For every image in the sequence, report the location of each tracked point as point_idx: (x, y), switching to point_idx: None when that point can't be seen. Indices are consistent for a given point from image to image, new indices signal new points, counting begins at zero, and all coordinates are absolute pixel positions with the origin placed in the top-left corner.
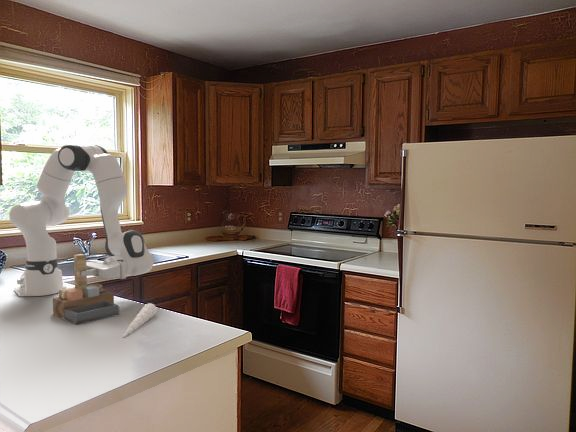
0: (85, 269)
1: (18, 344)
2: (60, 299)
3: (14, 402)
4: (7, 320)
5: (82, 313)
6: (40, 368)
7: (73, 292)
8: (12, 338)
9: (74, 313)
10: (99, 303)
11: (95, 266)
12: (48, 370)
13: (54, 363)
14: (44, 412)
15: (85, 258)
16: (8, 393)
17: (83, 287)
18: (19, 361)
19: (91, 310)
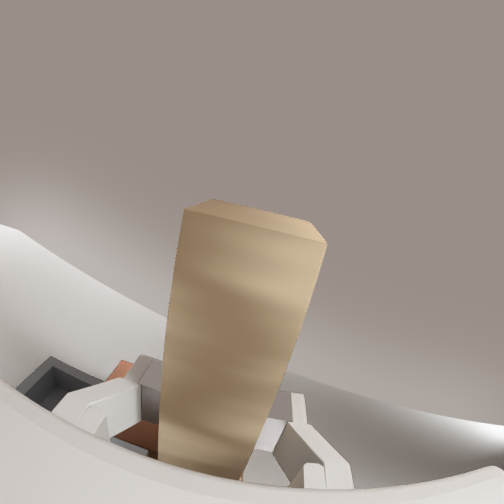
0: (164, 393)
1: (101, 297)
2: None
3: (13, 231)
4: (286, 374)
5: (38, 368)
6: (19, 256)
7: (116, 369)
8: (139, 313)
9: (61, 362)
10: None
11: (88, 454)
12: (8, 254)
13: (8, 262)
14: None
15: (177, 267)
16: (25, 236)
17: (142, 449)
18: (54, 266)
19: (21, 391)
